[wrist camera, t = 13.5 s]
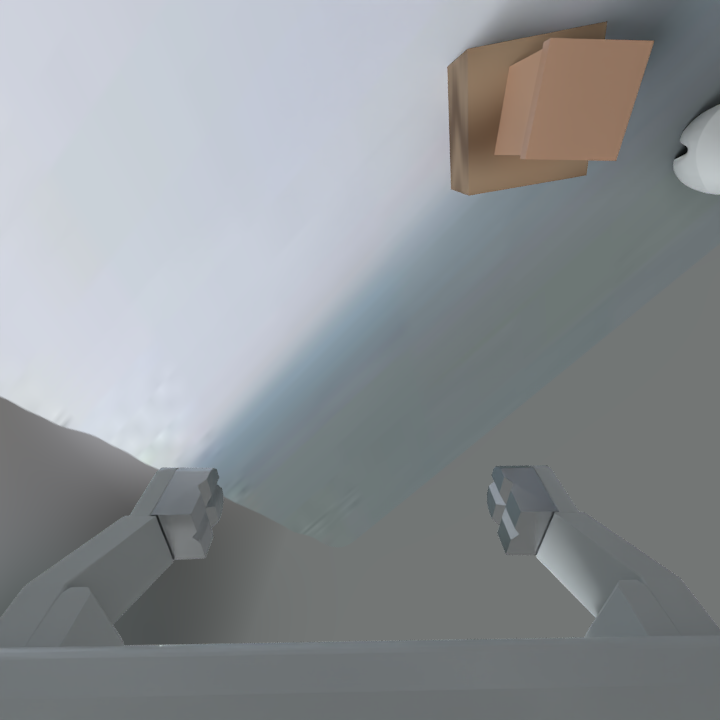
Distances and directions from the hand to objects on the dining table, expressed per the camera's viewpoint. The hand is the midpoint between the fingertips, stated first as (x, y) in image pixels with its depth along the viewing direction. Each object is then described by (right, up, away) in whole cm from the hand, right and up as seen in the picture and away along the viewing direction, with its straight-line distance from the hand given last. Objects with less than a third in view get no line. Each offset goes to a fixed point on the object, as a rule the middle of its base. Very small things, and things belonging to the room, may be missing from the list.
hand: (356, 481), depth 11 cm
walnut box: (+12, +24, +20) cm, 34 cm away
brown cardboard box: (+13, +21, +15) cm, 29 cm away
